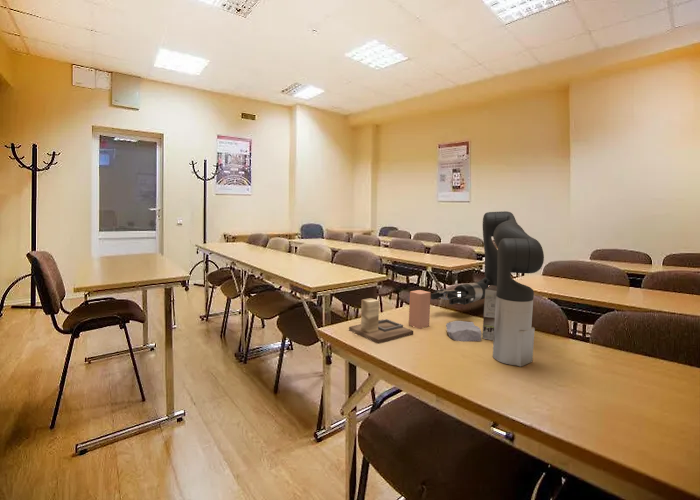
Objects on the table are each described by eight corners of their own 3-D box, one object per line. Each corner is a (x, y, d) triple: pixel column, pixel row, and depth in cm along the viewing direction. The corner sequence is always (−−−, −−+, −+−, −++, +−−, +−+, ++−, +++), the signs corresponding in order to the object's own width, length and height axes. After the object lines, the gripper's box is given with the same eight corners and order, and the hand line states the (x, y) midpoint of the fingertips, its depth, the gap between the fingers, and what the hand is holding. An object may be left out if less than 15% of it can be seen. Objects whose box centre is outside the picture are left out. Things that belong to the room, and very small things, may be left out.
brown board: (413, 334, 122) (413, 330, 122) (378, 343, 114) (378, 339, 113) (382, 322, 134) (382, 319, 134) (349, 330, 126) (349, 326, 125)
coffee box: (503, 342, 116) (506, 291, 114) (481, 338, 119) (484, 288, 117) (508, 334, 124) (511, 286, 122) (487, 331, 127) (490, 284, 125)
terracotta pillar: (429, 326, 131) (430, 292, 130) (419, 328, 128) (420, 294, 127) (418, 322, 135) (419, 289, 134) (408, 324, 132) (409, 291, 131)
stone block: (453, 347, 117) (484, 341, 116) (450, 332, 116) (482, 326, 116) (443, 335, 128) (472, 330, 128) (441, 322, 128) (470, 317, 128)
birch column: (378, 330, 122) (378, 300, 121) (368, 332, 119) (369, 302, 118) (370, 327, 125) (371, 298, 124) (360, 329, 123) (361, 299, 122)
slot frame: (403, 327, 126) (403, 325, 125) (384, 331, 121) (384, 329, 121) (386, 321, 132) (386, 319, 132) (368, 325, 127) (368, 323, 127)
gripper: (453, 280, 152) (426, 285, 143) (484, 287, 141) (457, 292, 132) (452, 298, 153) (425, 304, 144) (483, 306, 142) (456, 313, 132)
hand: (440, 299), depth 138 cm, fingers open, 8 cm apart
